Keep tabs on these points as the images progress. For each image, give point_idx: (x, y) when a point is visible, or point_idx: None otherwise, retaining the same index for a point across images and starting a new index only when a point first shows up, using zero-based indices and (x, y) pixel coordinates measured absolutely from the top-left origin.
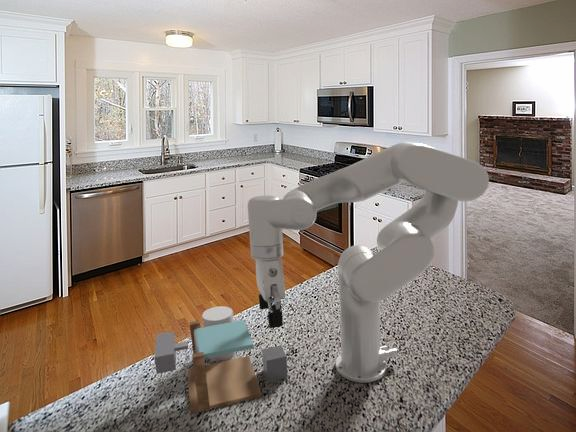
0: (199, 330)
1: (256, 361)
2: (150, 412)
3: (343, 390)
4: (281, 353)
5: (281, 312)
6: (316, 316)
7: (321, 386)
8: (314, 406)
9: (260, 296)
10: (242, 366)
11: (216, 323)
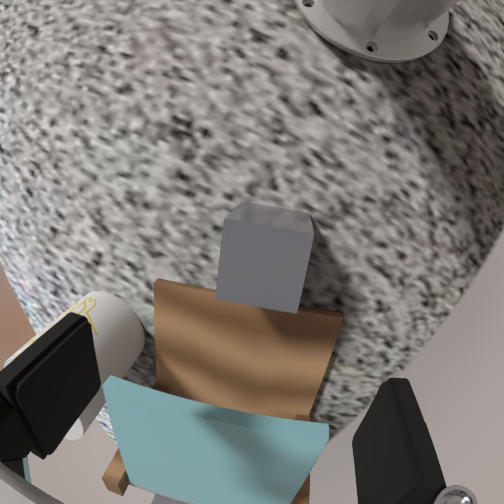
0: (143, 485)
1: (180, 265)
2: None
3: (442, 100)
4: (282, 243)
5: (433, 467)
6: (58, 13)
7: (400, 141)
8: (452, 208)
9: (50, 450)
10: (198, 318)
11: (88, 422)
